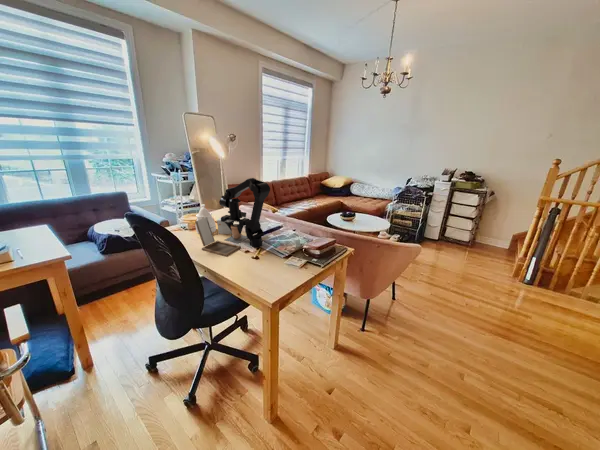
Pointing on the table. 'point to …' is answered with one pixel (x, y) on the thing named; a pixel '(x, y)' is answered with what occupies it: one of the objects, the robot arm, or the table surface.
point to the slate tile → (236, 239)
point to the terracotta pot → (235, 231)
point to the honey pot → (205, 213)
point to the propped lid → (205, 231)
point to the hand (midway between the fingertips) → (236, 233)
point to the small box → (223, 227)
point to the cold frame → (221, 248)
